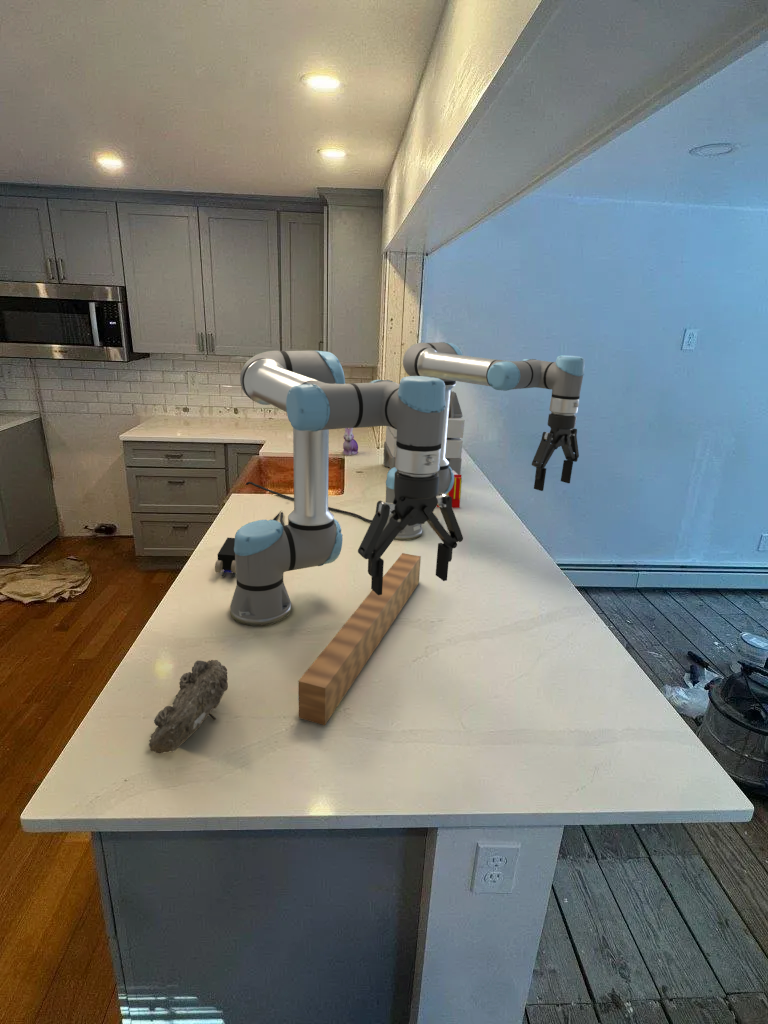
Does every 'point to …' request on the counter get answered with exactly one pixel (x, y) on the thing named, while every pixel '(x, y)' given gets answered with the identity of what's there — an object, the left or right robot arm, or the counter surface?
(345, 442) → the figurine
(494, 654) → the counter surface
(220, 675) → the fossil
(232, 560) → the black toy vehicle
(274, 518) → the feather
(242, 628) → the counter surface
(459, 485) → the toy
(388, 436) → the grey wooden crate
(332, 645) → the post
